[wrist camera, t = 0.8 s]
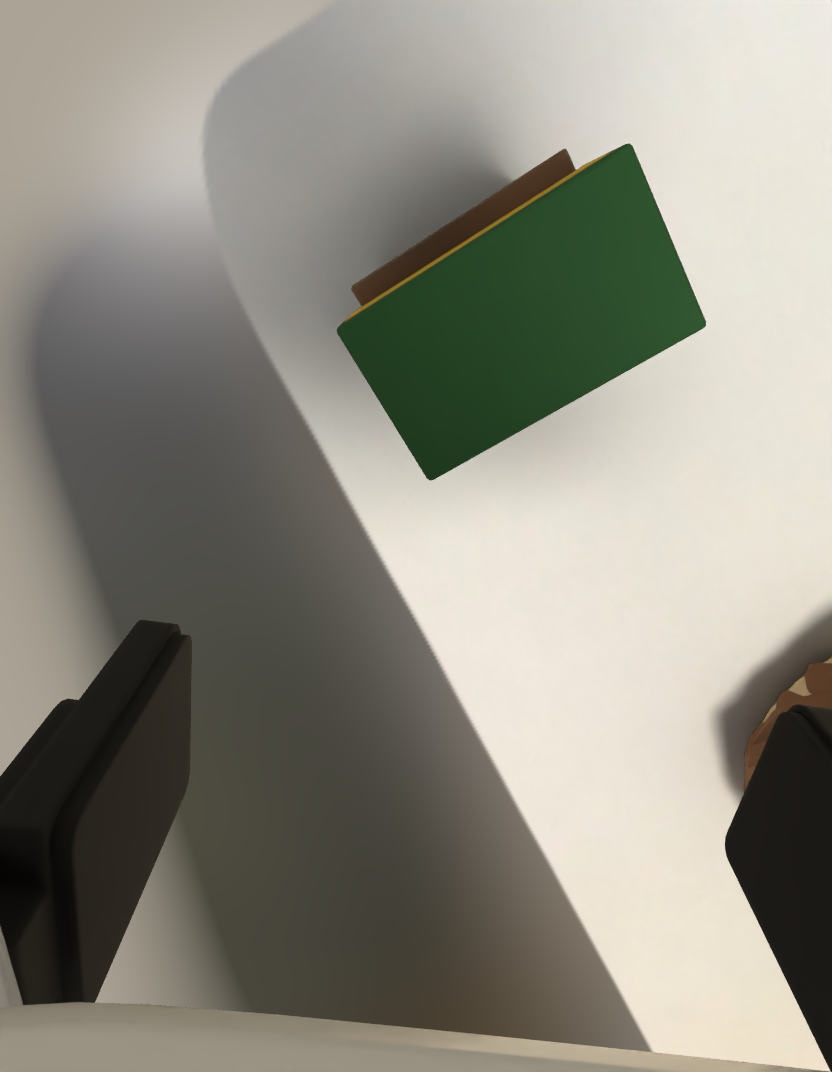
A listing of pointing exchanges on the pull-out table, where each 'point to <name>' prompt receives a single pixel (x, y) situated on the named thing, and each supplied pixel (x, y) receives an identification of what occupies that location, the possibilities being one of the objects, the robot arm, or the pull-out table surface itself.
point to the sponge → (526, 315)
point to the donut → (817, 688)
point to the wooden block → (464, 227)
